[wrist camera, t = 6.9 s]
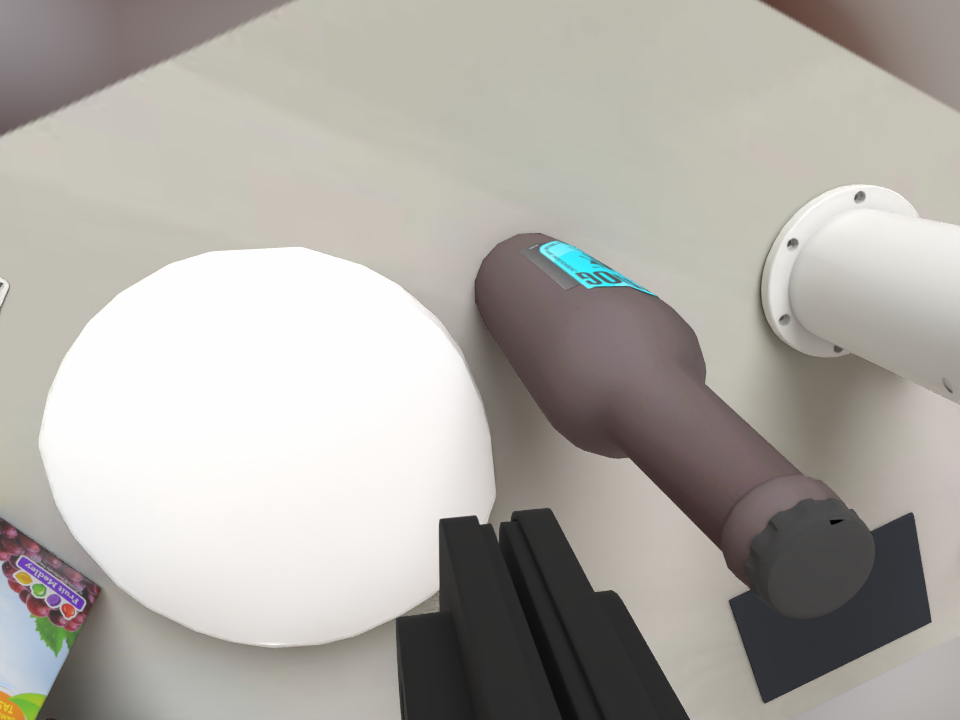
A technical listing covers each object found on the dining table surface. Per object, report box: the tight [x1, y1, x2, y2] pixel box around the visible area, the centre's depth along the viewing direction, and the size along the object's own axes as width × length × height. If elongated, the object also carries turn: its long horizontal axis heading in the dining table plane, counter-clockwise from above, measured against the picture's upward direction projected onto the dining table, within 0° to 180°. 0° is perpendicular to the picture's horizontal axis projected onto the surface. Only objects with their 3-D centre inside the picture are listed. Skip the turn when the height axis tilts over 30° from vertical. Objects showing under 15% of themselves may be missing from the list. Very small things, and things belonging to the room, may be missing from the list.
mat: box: [729, 513, 932, 703], centre depth 61 cm, size 18×14×1 cm
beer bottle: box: [475, 233, 875, 619], centre depth 31 cm, size 8×8×30 cm
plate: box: [38, 247, 496, 648], centre depth 42 cm, size 28×6×27 cm
